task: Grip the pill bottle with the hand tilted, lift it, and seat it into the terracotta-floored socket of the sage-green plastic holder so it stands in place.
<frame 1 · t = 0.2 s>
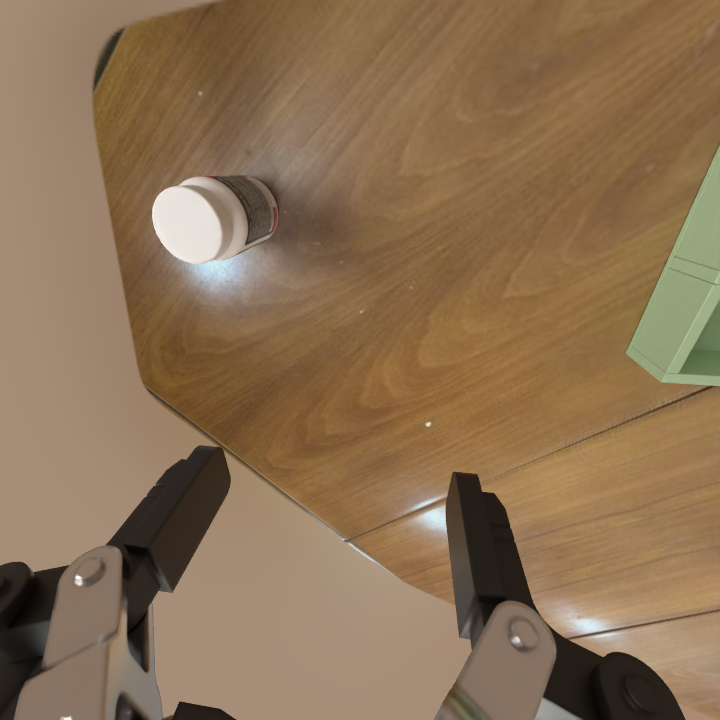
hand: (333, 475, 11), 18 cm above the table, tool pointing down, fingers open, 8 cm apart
pill bottle: (250, 210, 25), on the table
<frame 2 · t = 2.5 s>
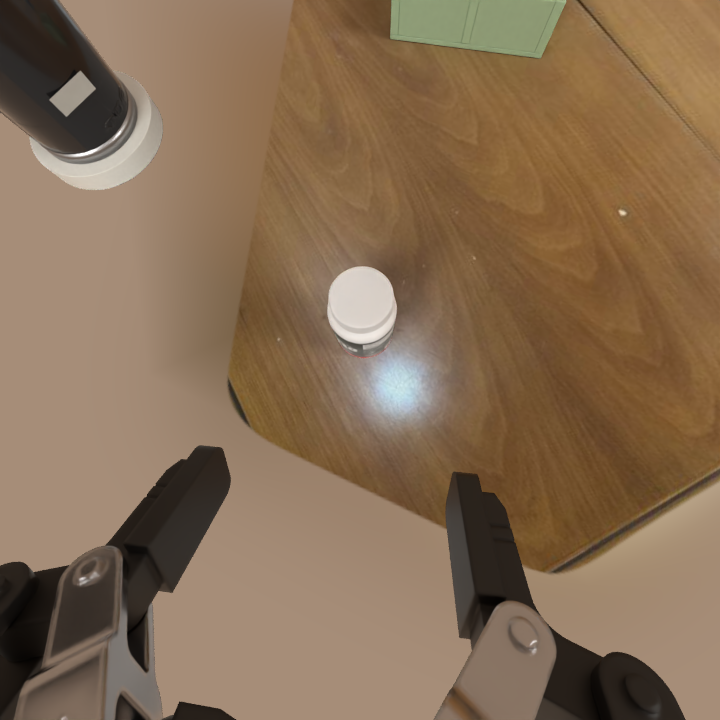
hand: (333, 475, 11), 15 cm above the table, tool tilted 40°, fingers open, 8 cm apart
holder: (470, 17, 33), on the table
pill bottle: (364, 332, 28), on the table
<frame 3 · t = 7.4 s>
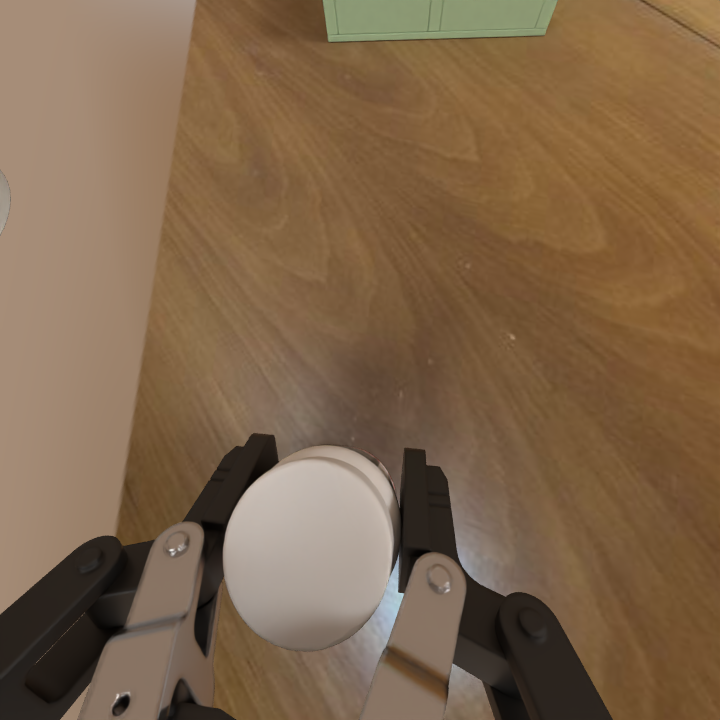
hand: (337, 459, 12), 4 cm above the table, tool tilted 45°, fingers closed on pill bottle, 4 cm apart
holder: (434, 1, 24), on the table
pill bottle: (346, 497, 16), on the table, touching gripper
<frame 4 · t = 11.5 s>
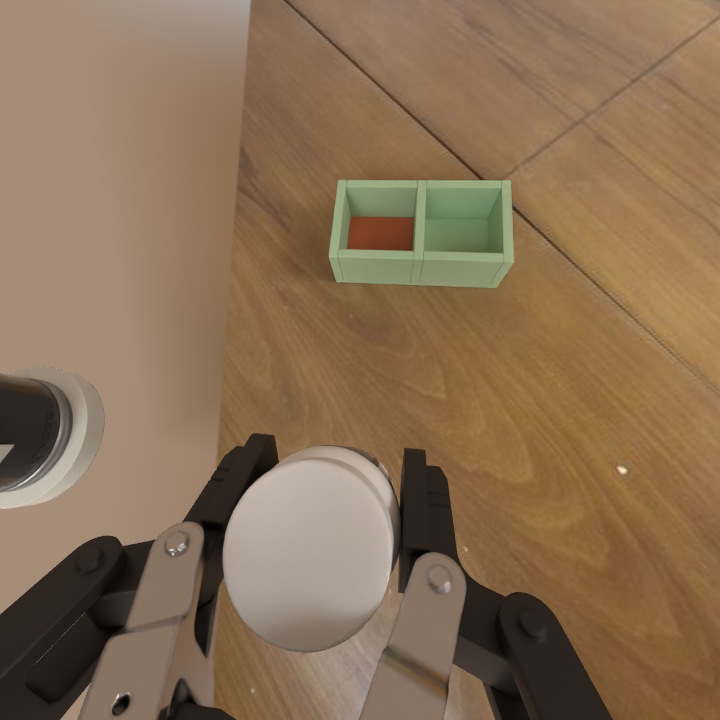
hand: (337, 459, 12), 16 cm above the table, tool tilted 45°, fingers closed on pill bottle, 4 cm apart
holder: (416, 248, 32), on the table
pill bottle: (346, 498, 16), point 12 cm above the table, touching gripper
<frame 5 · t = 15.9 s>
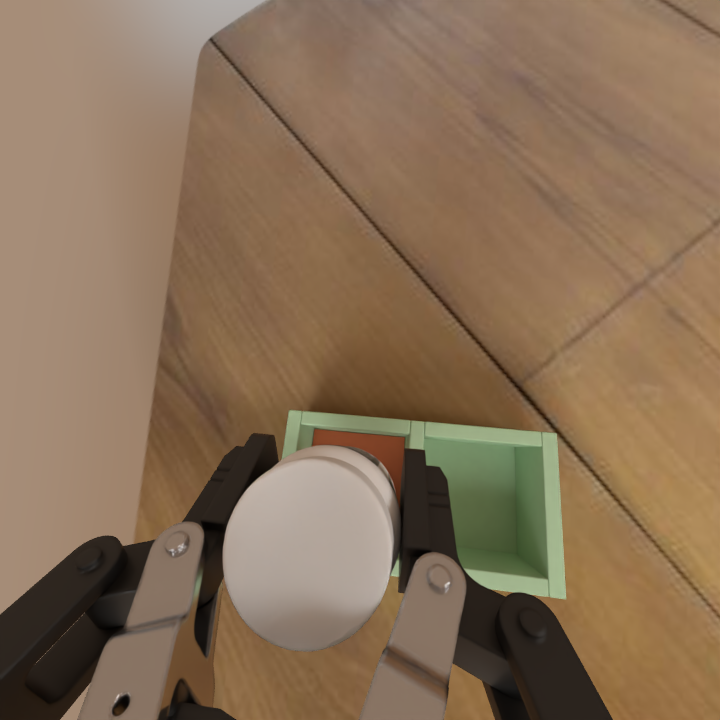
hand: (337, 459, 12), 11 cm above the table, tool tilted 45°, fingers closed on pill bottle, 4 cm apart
holder: (408, 486, 22), on the table
pill bottle: (346, 497, 16), point 7 cm above the table, touching gripper
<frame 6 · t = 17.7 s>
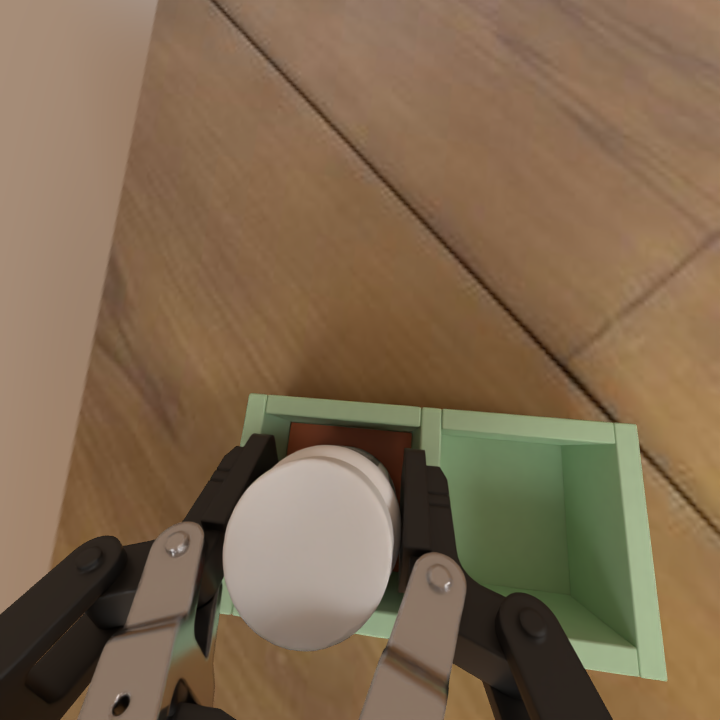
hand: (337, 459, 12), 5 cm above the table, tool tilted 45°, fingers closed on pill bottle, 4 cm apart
holder: (417, 498, 16), on the table
pill bottle: (346, 497, 16), point 1 cm above the table, touching gripper
when the fingers open (6 cm above the table, at t = 24.4 s): pill bottle drops 1 cm, resting on holder.
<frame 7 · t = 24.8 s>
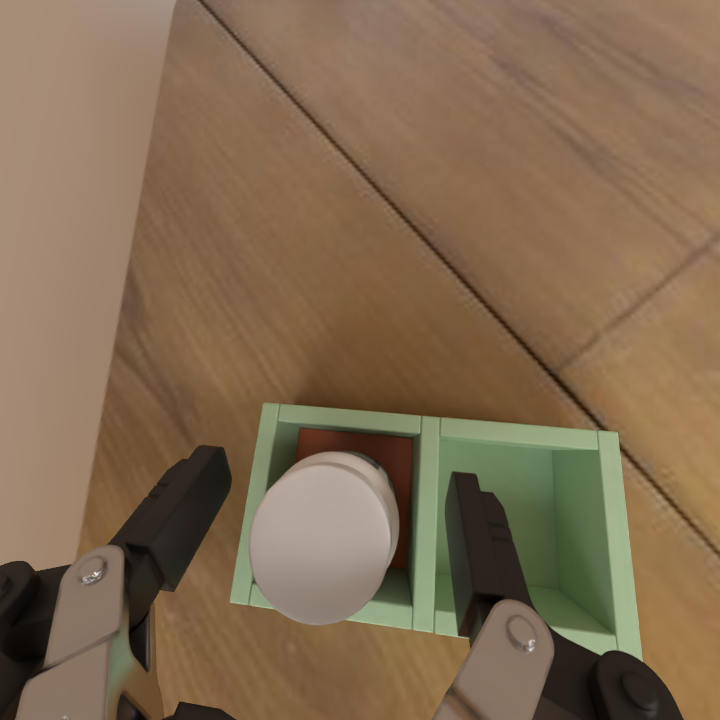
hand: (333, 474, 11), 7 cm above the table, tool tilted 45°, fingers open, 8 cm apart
holder: (417, 500, 17), on the table
pill bottle: (349, 497, 17), resting on holder
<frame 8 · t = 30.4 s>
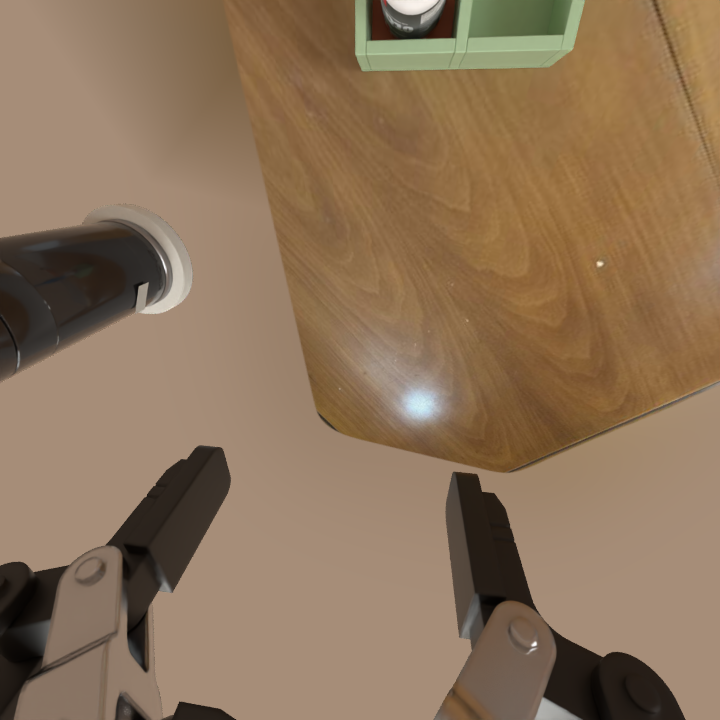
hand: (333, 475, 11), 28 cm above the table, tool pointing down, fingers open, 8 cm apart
holder: (460, 1, 25), on the table
pill bottle: (413, 4, 25), resting on holder
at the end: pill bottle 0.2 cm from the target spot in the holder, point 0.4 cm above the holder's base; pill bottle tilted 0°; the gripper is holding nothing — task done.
